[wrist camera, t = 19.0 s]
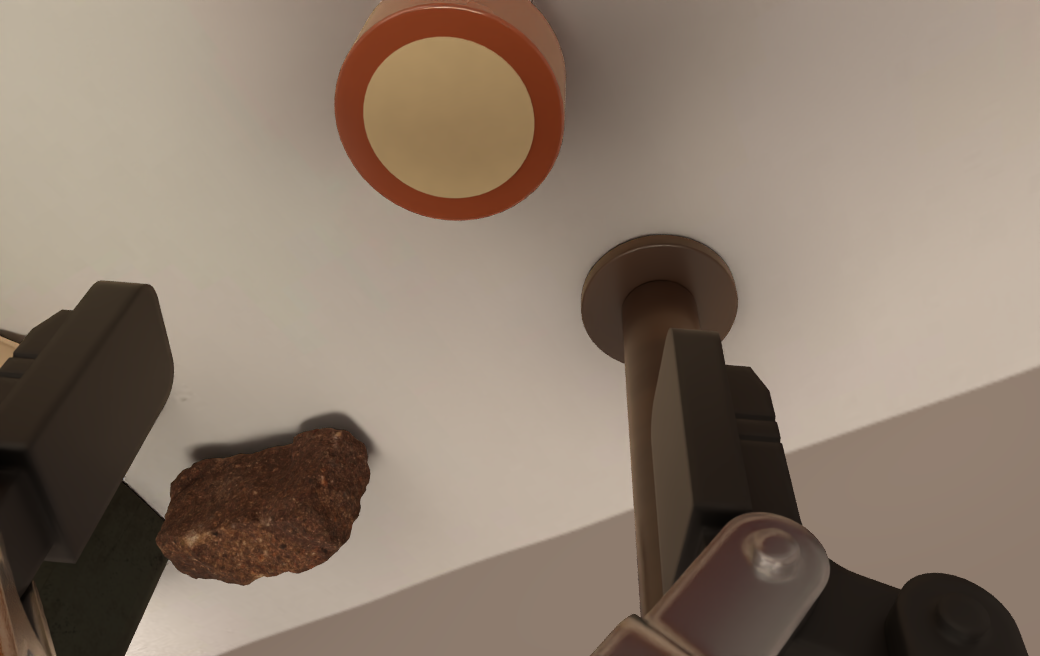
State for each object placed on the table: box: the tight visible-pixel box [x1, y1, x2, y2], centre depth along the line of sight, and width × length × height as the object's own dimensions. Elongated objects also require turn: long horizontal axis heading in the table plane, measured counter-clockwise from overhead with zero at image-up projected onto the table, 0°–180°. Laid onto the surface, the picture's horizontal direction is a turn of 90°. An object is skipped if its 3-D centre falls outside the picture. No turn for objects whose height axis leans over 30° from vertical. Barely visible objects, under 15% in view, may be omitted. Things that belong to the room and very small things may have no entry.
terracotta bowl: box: [334, 0, 566, 221], centre depth 22 cm, size 5×5×5 cm
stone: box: [156, 428, 370, 586], centre depth 32 cm, size 8×3×5 cm, turn 114°
